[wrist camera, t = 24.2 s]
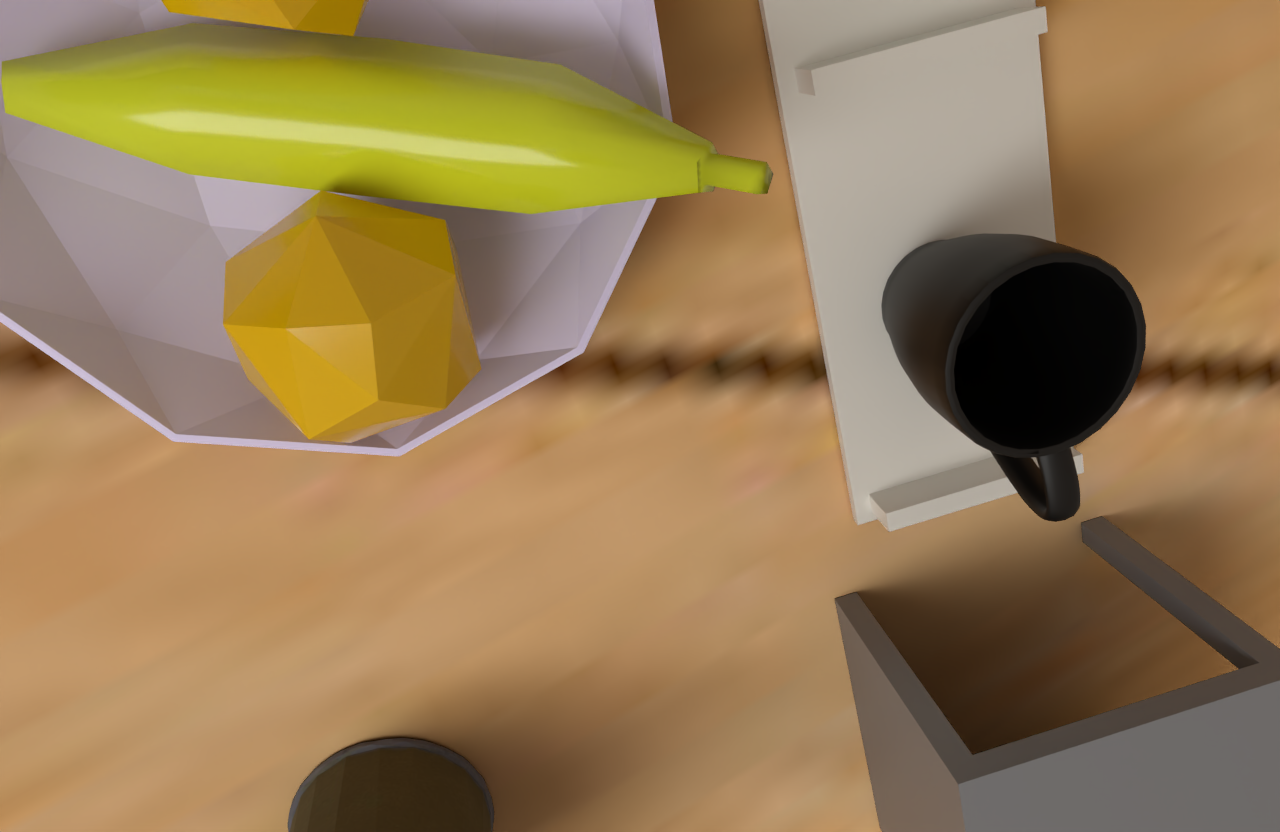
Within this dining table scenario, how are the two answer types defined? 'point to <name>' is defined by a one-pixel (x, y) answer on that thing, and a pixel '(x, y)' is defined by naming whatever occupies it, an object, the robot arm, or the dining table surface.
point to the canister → (393, 791)
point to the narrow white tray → (905, 206)
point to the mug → (1018, 350)
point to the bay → (1082, 735)
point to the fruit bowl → (328, 202)
